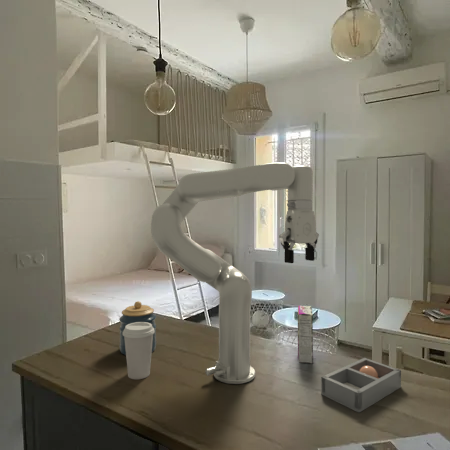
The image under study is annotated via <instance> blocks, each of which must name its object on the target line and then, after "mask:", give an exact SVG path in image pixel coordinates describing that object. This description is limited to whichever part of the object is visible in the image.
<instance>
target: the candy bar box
mask: <svg viewBox="0 0 450 450" xmlns="http://www.w3.org/2000/svg"><path fill="white" fill-rule="evenodd" d="M313 315H314V314H313V309H312V306H311V305H297V360H298V363H303V364H313V362H314V347H313V346H314V331H313V330H314V329H313V327H314V324H313V320H314V319H313V317H314V316H313Z"/></svg>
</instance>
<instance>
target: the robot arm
mask: <svg viewBox="0 0 450 450" xmlns="http://www.w3.org/2000/svg"><path fill="white" fill-rule="evenodd" d="M313 173H314V172H313V168H312V167H310V166H308V165H295V166H292V165H291V164H289V163H286V162H283V161H282V162H271V163H264V164H256V165H249V166H243V167H241V166H240V167H235V168H228V169H226V168H225V169H219V170H211V171H204V172H203V171H202V172H193V173H188V174H186V175H183V176H182V177H181V178H180V179H179V182H178V184H177V186H176V187H175V188H174V190H173V191H172V192H171V194H169V196H168V197H167V198H166V199H165V200H164V201H163V203H162V204H160V205H158V206H156V208H155V209H154V211H153V212H152V215H151V221H150V233H151V238H152V240H153V243H154V245H155V246H156V248H157V249H158V250H159V252H160V253H162V254H163V255H164V256H165V257H166V258H168V259H170V260H171V261H172V262H173V263H175V264H176V265H178V266H179V267H180V268H181V269H183V270H184V271H185V272H187V273H188V274H190V275H191V276H192V277H193V278H195V279H196V280H197V281H199V282H202V283H206V284H207V285H209V286H210V287H211V288H213V289H215V290H216V291H217V292H218V293H219V301H218V302H219V304H218V360H215V364H214V365H213V366H212V367H208V368H206V369H205V370H204V371H205V375H206V376H207V377H208V376H212V375H213V377H214V379H216V380H218V381H219V382H222V383H224V384H231V385H240V384H241V385H242V384H246V383H249V382H250V381H252V380H253V379H254V378H255V377H256V370H255V369H254V367H252V366H251V305H252V295H253V290H252V289H253V288H252V284H251V281H250V279H249V278H248V276H246V275H245V274H244V273H243V272H242V271H240V270H239V269H238V268H236V267H235V266H233V265H232V264H230V263H229V262H228V261H227V260H225V259H223V258H222V257H221V256H219V255H218V254H217V253H215V252H214V251H212V250H210V249H208V248H204V247H203V246H202V245H200V244H199V243H197V242H196V241H194V239H192V238H191V237H189V236H188V235H187V234H186V233H185V232H184V231H183V230H182V227H181V224H182V222H184V221H185V219H186V217H188V215H189V214H190V213H191V212H192V210H193V209H194V208H195V207H196V206H197V205H198V203H199V202H206V201H207V202H208V201H214V200H223V199H231V198H237V197H241V196H244V195H248V194H252V193H257V192H263V191H264V192H265V191H282V190H287V203H286V204H287V205H286V206H287V210H286V215H285V223H284V231H283V232H282V233H281V234H280V235H278V239H279V241H280V246H281V247H282V249H283V251H284V263H286V264H294V262H295V251H294V246H295V245H296V244H297V245H298V244H305V248H304V249H305V251H304V252H305V253H304V255H305V256H304V259H305V260H306V261H310V262H311V261H313V262H314V261H315V249H316V248H317V244H318V240H319V237H320V233H318V232H317V225H316V224H317V223H316V216H315V212H314V211H313V194H314V193H313V191H314V190H313V181H314V180H313V179H314V178H313V177H314V175H313Z"/></svg>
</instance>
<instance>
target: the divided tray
mask: <svg viewBox="0 0 450 450" xmlns="http://www.w3.org/2000/svg"><path fill="white" fill-rule="evenodd" d="M363 366H371V367H373V368H374V369H375V370H376V371H377V374H378V378H375V377H372V376H370V375H367V374H365V373H362V372H359V370H360V369H361V368H362V367H363ZM320 380H321V387H320V388H321V389H320V390H321V391H320V392H321V395H322V396H324V397H326V398H327V399H330V400H333V401H334V402H336V403H338V404H340V405H342V406H344V407H346V408H348V409H350V410H353V411H355V413H362V412H363V411H364V410H366V409H368V408H369V407H371V406H373V405H374V404H376V403H378V402H380V401H381V400H382V399H384V398H386V397H387V396H389V395H391V394H392V393H394V392H395V391H398V390H399V389H400V388H402V370H401V369H398V368H395V367H392V366H390V365H387V364H385V363H381V362H378V361H375V360H374V359H373V360H372V359H370V358H366V357H363V358H361V359H359V360H356V361H354V362H352V363H349V364H348V365H345V366H343V367H340V368H338V369H336V370H334V371H331V372H330V373H328V374H325V375H321V379H320Z"/></svg>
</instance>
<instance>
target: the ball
mask: <svg viewBox="0 0 450 450" xmlns="http://www.w3.org/2000/svg"><path fill="white" fill-rule="evenodd" d="M359 372H362V373H365V374H367V375H370V376H372V377H375V378H378V374H377V371H376V370H375V369H374V368H373V367H371V366H363V367H362V368H361V369H360V370H359Z"/></svg>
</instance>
